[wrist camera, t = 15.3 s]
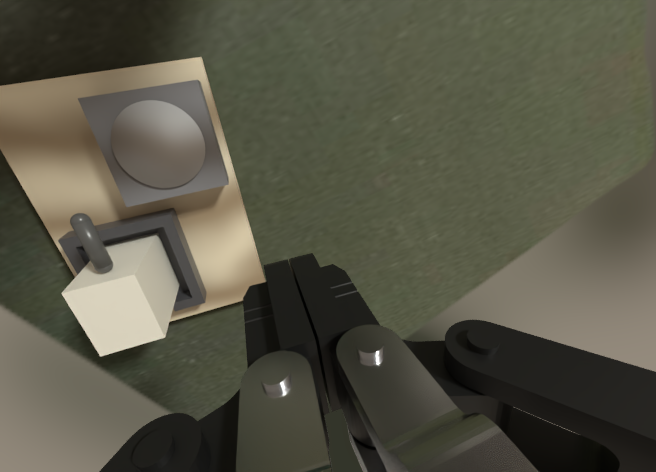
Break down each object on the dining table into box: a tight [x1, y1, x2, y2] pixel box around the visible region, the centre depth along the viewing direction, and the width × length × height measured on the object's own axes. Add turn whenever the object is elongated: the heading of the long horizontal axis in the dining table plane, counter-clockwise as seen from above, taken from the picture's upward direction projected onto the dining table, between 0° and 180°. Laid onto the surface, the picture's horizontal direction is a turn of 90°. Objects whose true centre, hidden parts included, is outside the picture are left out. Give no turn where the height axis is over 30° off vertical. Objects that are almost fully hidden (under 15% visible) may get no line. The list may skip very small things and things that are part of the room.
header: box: [58, 208, 207, 311], centre depth 26 cm, size 8×8×2 cm
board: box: [0, 57, 266, 322], centre depth 24 cm, size 20×14×4 cm
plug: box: [61, 213, 180, 357], centre depth 22 cm, size 10×4×7 cm, turn 10°
